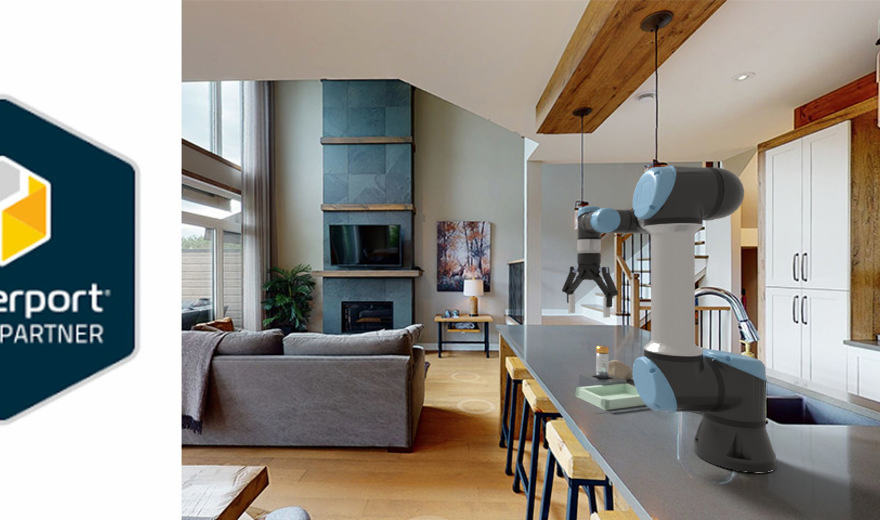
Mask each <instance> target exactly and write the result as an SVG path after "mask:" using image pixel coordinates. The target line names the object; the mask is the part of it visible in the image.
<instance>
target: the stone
mask: <svg viewBox="0 0 880 520" xmlns="http://www.w3.org/2000/svg"><path fill="white" fill-rule="evenodd" d="M609 375H612V376H615V377H618V378H621V379H623V380H626V381H629V380H631V379H633V369H632V368H631V367H630V366H629V365H628V364H627V363H626V364H625V363H624V362H622V361H620V360H617V359H616V360H614V359H612V360H610V361H609Z"/></svg>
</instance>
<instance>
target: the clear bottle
mask: <svg viewBox="0 0 880 520" xmlns="http://www.w3.org/2000/svg"><path fill="white" fill-rule="evenodd" d="M609 350H610V347H609V346H606V345H596V346H595V373H596V378H598V379H600V380H605V379H608V376H609V360H610V359H609V357H610V356H609V353H610V351H609Z"/></svg>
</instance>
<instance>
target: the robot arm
mask: <svg viewBox="0 0 880 520" xmlns="http://www.w3.org/2000/svg"><path fill="white" fill-rule="evenodd" d="M744 197H745V189H744V185H743V183H742V181H741V179H740V178H739V177H738V176H737V175H736V174H735V173H734V172H732V171H730V170H728V169H726V168H721V167H715V166H713V167H712V166H711V167H710V166H708V167H707V166H706V167H704V166H703V167H701V166H677V165H675V166H674V165H667V166H657V167H656V166H655V167H652V168H650V169H649V168H648V170H647V171H645V172H644V173H643V174H642V175H641V177H640V178H639V180H638V182H637V183H636V185H635V188H634V192H633V196H632V209H614V208H612V207H600V206H597V205H596V206H595V205H591V206H581V207H579V208H578V210H577V218H576V219H577V247H576V248H577V252H578V253H577V258H576V259H577V260H576V262H577V265H578V266H570V267H569V272H568V275H567V277H566V280H565V282H564V283H563V284H564V285H562V289H561V292H563V293H565V294H566V302H567V304H568V314H575V313H576V294H575V291H576V290H577V289H578V287H580V285H581V283H583V281H588V280H589V281H594V282H595V283H596V284H597V286H598V288H600V289H599V290H601V292H602V293H603V295H604V296H603V299H602V301H603V302H602V303H603V305H602V307H603V309H602V312H603V313H602V315H603V317H602V318H606V319H607V318H610V317H611V308H612V307H613V298H614V297H616V296H617V297H618V296H619V291H618V289H617V287H616V285H615V282H614V279H613V278H612V276H611V274H610V273H611V272H610V267H609V266H603V267H601V262H602V261H601V260H602V255H601V253H600V252H601V251H602V249H601V247H602V234H644V235H650V340H649V342H648V343H646V344H645V345H644V346H643V356H639V357H637V358H636V359H635V360H634V363H633V365H632V376H633V377H632V380H633V383H634V386H635V387H636V390H637V392H638V394H639V396H640V398H641V399H642V401H643V402H644V403H645V404H646V405H645V406H646V407H647V408H648V409H650V410H652V411H655V412H665V413H666V412H667V413H671V414H673V413H689V412H690V413H694V412H703V414H702V418H701V420H700V423H699V425H698V427H697V430H696V433H695V435H694V438H693V452H694V454H696V456H698V457H699V458H700V459H702V460H703V461H706V462H709V463H710V464H712V465H715V466H717V465H718V467H720V466H721V468H723V467H724V469H727V468H729V469H728V470H730V469H733V470H732V471H735V470H738V471H737V472H739V471H747V472H768V471H771V470H774V469H775V468H776V469H777V455H776V453H775V451H774V448H773V445H772V442H771V440H770V436H769V433H768V431H767V428H766V427H767V423H766V421H767V419H766V417H767V413H766V412H767V402H766V401H767V383H768V380H767V378H766V377H767V375H766V365H765V364H764V363H763V361H761V360H759V359H757V358H754V357H752V356H749V355H743V354H740V353H735V352H729V351H726V350H725V351H724V350H717V349H709V348H707V349H703V351H702V349H701V348H700V347H699V346H697V344H696V319H695V318H696V312H695V311H696V310H695V309H696V286H695V285H696V283H695V282H696V281H695V280H696V278H695V277H696V276H695V275H696V274H695V271H696V269H695V266H696V264H695V262H696V261H695V257H696V256H695V255H696V254H695V253H696V252H695V251H696V250H695V249H696V247H695V245H696V244H695V243H696V242H695V241H696V240H695V239H696V237H695V236H696V233H697V232H699V230H701V228H703V225H704V223H703V222H704V221H706V222H707V221H714V220H718V219H723V218H726V217H729V216H731V215H733V214H734V213H735V212H736V211H737V210H739V208H740V207H741V205H742V203H743V201H744ZM577 273H578V274H577ZM600 274H601V275H602V276H601V275H600ZM602 277H603V278H602ZM776 469H775V470H776ZM775 470H774V471H775Z"/></svg>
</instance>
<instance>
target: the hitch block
mask: <svg viewBox="0 0 880 520" xmlns="http://www.w3.org/2000/svg"><path fill="white" fill-rule="evenodd" d="M623 383H627V384H628V380H623V379H621V378H618V377H615V376H612V375H609V376H608V379H605V380H600V379H598V378H596V372H588V373H579V374H578V385H581V387H586V386H596V385H602V386H604V385H613V384H623Z"/></svg>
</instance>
